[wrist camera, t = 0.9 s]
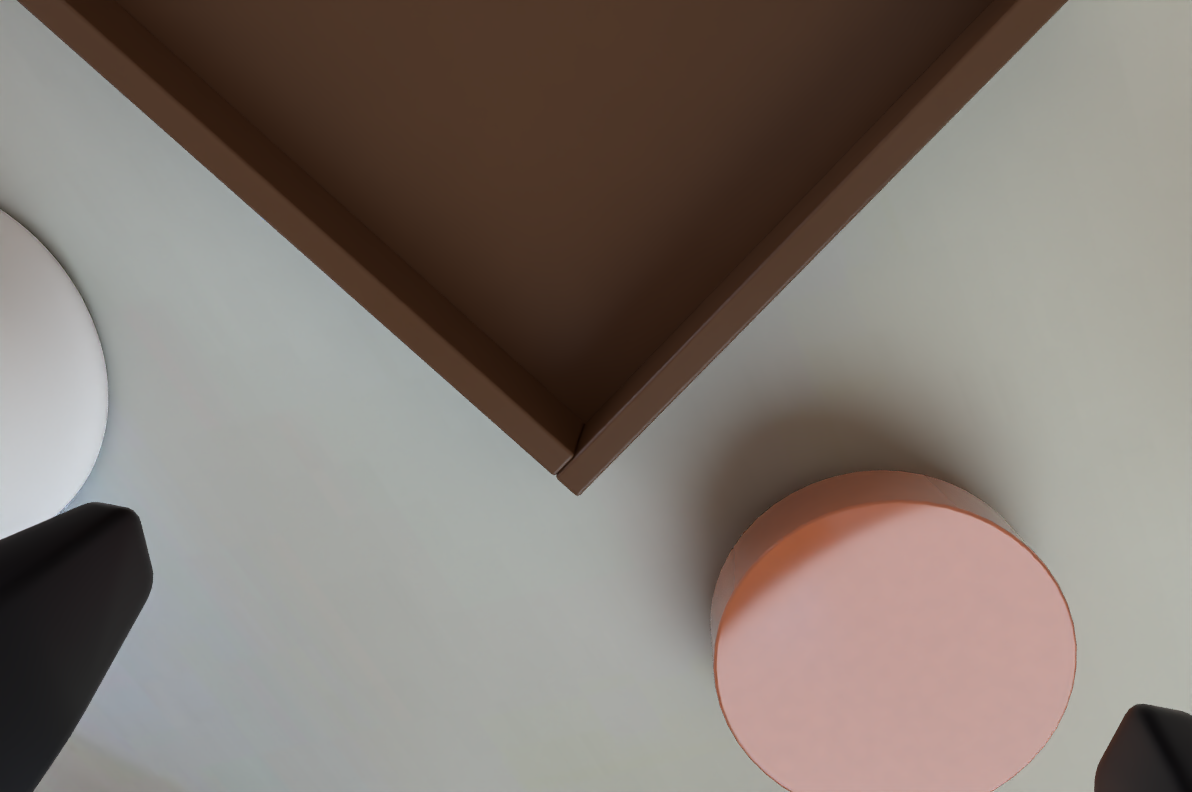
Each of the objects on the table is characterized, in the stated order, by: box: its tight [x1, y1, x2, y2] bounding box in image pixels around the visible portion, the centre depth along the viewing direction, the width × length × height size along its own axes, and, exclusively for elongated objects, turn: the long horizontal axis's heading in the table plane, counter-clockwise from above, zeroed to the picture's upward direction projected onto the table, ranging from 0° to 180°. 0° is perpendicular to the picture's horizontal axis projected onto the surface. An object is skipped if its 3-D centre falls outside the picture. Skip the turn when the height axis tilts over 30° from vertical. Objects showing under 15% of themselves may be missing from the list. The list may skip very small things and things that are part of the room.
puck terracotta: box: [710, 470, 1077, 792], centre depth 20 cm, size 7×7×2 cm
